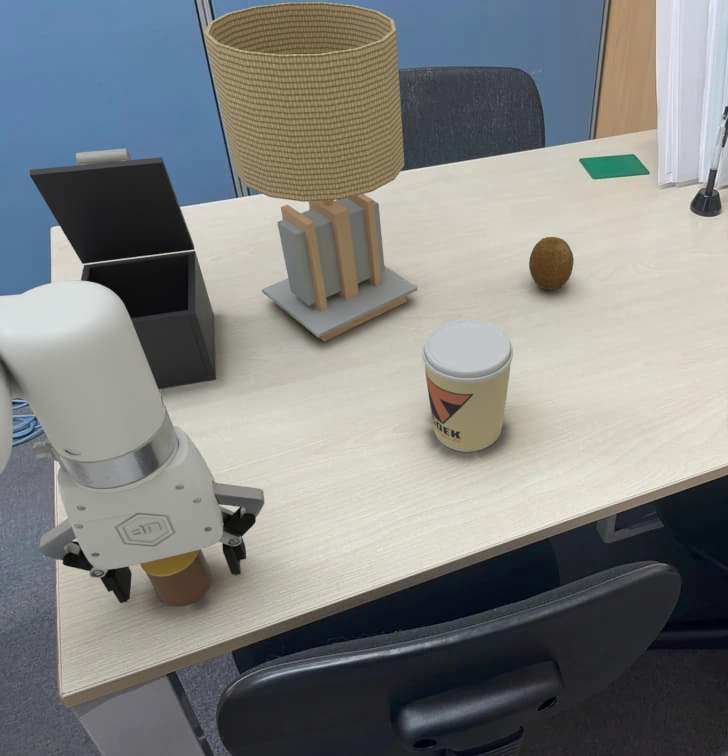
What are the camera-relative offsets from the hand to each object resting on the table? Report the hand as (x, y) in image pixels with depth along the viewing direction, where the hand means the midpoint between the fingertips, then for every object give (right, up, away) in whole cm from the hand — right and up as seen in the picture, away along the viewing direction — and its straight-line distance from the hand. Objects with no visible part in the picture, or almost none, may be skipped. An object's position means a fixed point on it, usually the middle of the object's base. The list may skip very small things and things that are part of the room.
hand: (182, 574), depth 63 cm
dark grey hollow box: (-14, +21, +25) cm, 35 cm away
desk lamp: (+6, +28, +34) cm, 45 cm away
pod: (0, -1, +1) cm, 1 cm away
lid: (-15, +36, +17) cm, 42 cm away
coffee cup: (+25, +12, +17) cm, 32 cm away
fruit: (+35, +30, +39) cm, 61 cm away
